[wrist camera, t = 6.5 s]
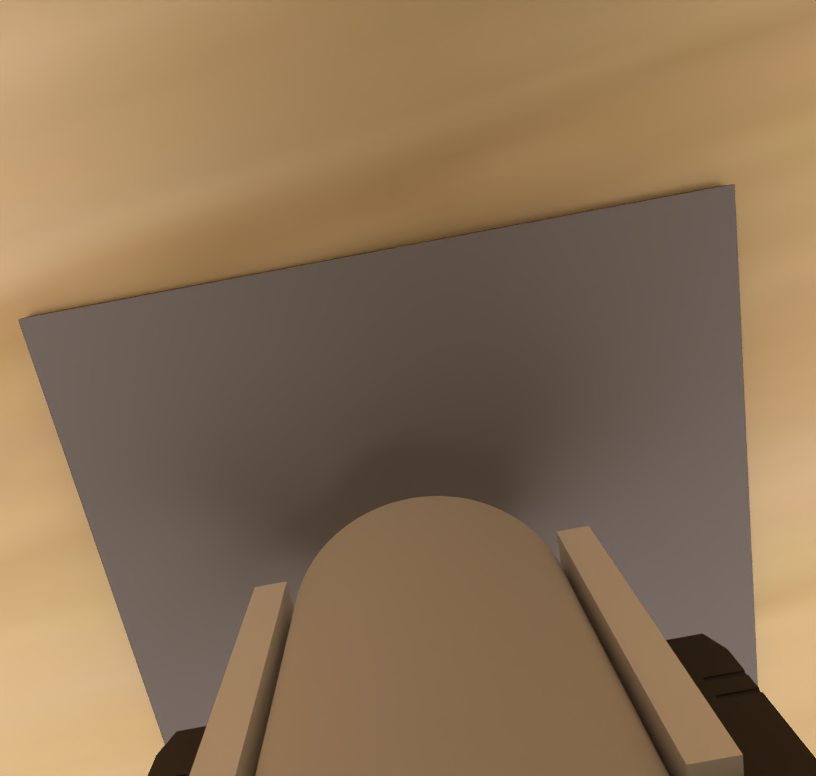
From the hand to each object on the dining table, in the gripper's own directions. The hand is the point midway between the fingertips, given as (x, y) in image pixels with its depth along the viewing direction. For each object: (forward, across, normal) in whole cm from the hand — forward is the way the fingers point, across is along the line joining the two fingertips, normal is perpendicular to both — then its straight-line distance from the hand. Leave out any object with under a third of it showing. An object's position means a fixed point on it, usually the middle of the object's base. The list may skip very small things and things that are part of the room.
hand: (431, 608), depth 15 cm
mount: (+5, 0, -6) cm, 8 cm away
